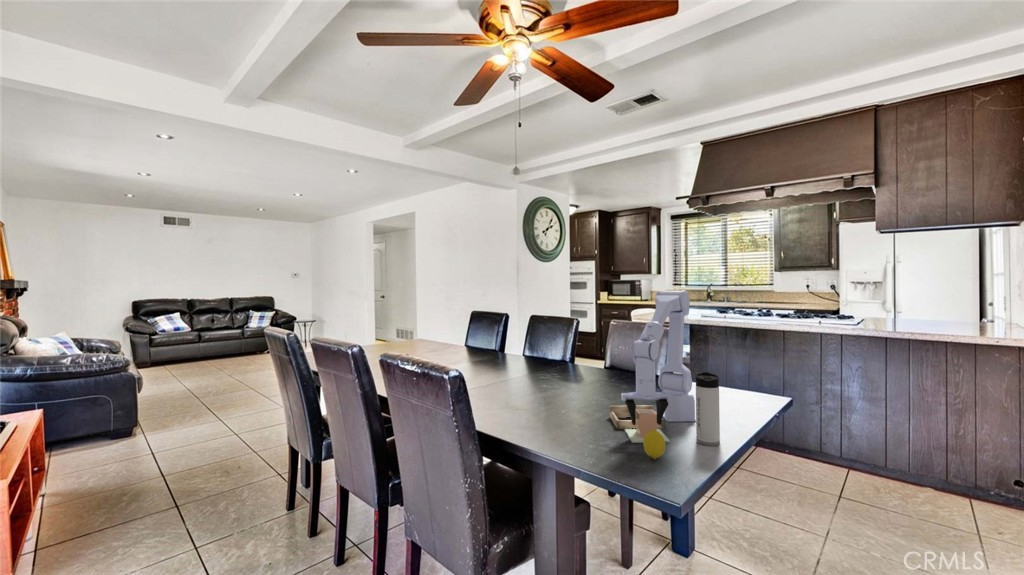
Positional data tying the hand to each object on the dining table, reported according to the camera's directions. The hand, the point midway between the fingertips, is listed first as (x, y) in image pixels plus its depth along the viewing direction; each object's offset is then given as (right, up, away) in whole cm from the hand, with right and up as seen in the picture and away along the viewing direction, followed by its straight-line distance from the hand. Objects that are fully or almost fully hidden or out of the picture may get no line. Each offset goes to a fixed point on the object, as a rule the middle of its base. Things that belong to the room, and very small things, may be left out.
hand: (646, 423), depth 133 cm
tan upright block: (0, -3, 0) cm, 3 cm away
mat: (0, -4, 0) cm, 4 cm away
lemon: (-3, -5, -17) cm, 18 cm away
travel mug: (+16, -4, -6) cm, 18 cm away
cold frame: (+1, -4, +13) cm, 14 cm away
